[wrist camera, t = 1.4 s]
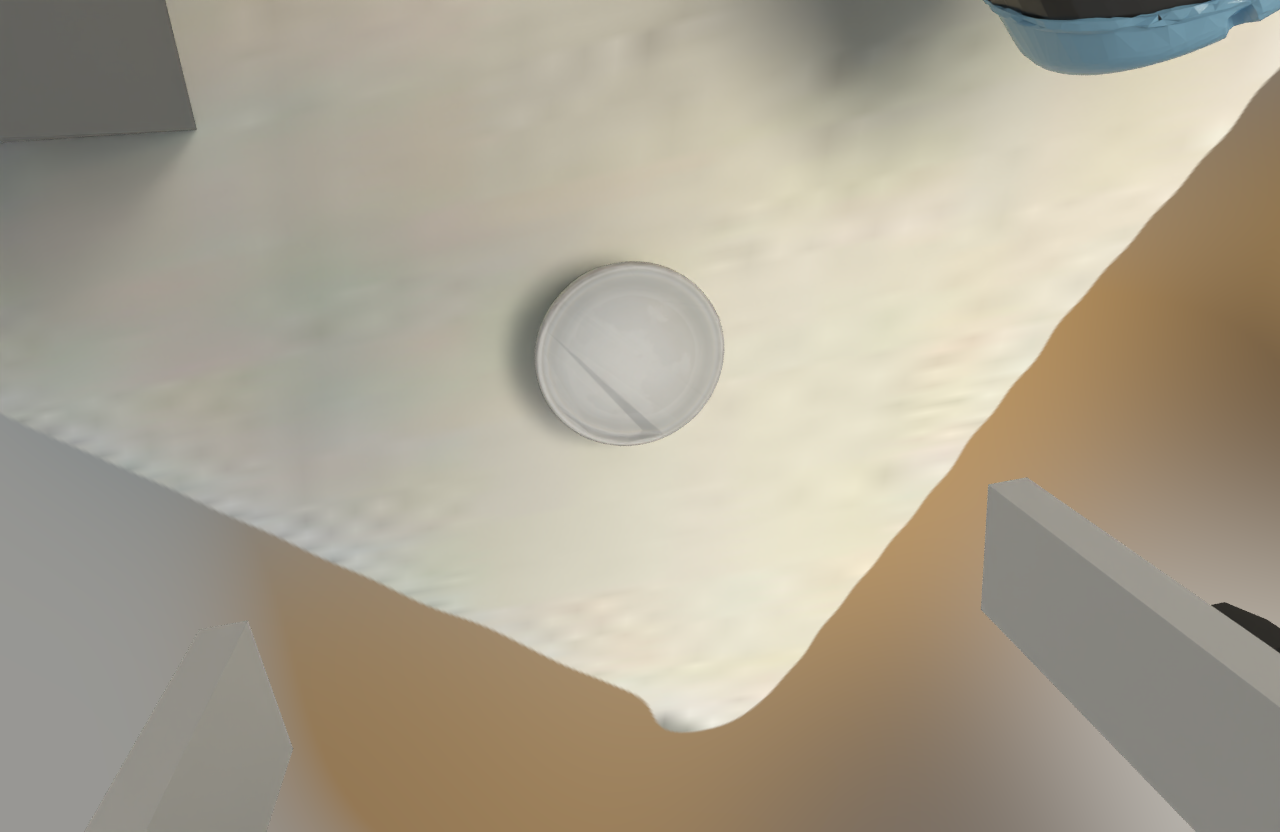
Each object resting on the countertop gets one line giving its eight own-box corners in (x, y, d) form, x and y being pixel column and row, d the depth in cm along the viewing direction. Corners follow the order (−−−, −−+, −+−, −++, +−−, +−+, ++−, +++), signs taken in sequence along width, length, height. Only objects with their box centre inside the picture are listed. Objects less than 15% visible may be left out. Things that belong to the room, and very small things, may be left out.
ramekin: (515, 402, 52) (518, 432, 47) (550, 231, 49) (557, 244, 44) (678, 430, 55) (697, 460, 50) (722, 269, 52) (746, 285, 47)
